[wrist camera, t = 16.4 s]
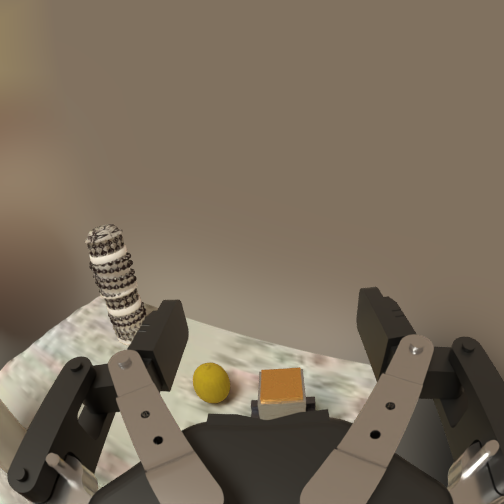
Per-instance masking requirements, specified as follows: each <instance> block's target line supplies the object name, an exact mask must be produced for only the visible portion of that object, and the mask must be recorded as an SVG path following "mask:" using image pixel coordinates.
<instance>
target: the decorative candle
mask: <svg viewBox="0 0 504 504" xmlns="http://www.w3.org/2000/svg"><path fill="white" fill-rule="evenodd" d="M121 233H122V230H121V229H118V228H117V227H116V226H115V225H113V224H109V225H103V226H100V227H97V228H95V229H93V230H91V231H90V232H89V234H88V238H87V239H86V240H85V242H86V243H87V245H88V249H89V252H90V259H91V261H90V269H91V270H92V271H93V277H94V278H95V279H96V282H95V283H96V284H97V286H98V287H99V292H100V294H101V296H102V297H103V298H104V299H105V302H106V307H107V309H108V313H109V314H108V316H109V317H110V319H111V323H112V324H113V329H114V330H115V334H116V335H117V337H118V340H119V341H120V343H122V344H125V345H130V344H131V342H132V340H133V338H134V337H135V335H136V333H137V332H138V330H139V328H140V326H142V323H143V321H144V319H145V318H146V317H147V316H148V315H146V309H145V308H144V303H143V302H142V301H141V298H140V295H139V294H138V293H137V289H136V287H137V282H136V276H134V275H133V274H134V273H135V271H134V269H131V268H130V266H131V265H132V264H133V261H132V260H128V259H129V258H130V257H131V254H130V253H127V250H126V246H125V244H124V242H123V237H122V235H121ZM93 265H94V267H93ZM96 275H97V276H96ZM98 281H99V283H98Z"/></svg>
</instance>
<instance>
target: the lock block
mask: <svg viewBox="0 0 504 504" xmlns="http://www.w3.org/2000/svg"><path fill="white" fill-rule="evenodd" d="M258 410H259V416H260V419H263V420H271V419H275V418H279V417H283V416H287V415H290V414H294V413H298V412H306V396H305V386H304V377H303V369H300V368H288V369H271V370H262V371H261V372H259V390H258Z"/></svg>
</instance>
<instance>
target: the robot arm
mask: <svg viewBox="0 0 504 504" xmlns="http://www.w3.org/2000/svg"><path fill="white" fill-rule="evenodd" d="M357 329H358V332H359V334H360V337H361V340H362V342H363V345H364V347H365V350H366V353H367V355H368V358H369V361H370V364H371V367H372V369H373V372H374V375H375V378H376V381H377V384H376V386H375V387H374V389H373V391H372V393H371V395H370V396H369V398H368V400H367V401H366V403H365V405H364V407H363V408H362V410H361V411H360V413H359V415H358V416H357V418H356V420H355V421H354V423H350V422H348V421H345V420H342V419H337V418H330V417H329V413H328V409H327V410H318V411H308V412H298V413H294V414H290V415H287V416H283V417H279V418H275V419H271V420H263V419H257V418H252V417H247V416H242V415H237V414H208V418H207V422H203V423H199V424H196V425H193V426H190V427H188V428H186V429H184V430H182V431H181V430H180V428H179V426H178V425H177V423H176V421H175V420H174V418H173V416H172V415H171V413H170V411H169V409H168V408H167V406H166V404H165V402H164V401H163V399H162V397H161V395H160V391H168V392H170V390H171V387H172V384H173V381H174V378H175V375H176V373H177V370H178V367H179V364H180V361H181V358H182V355H183V352H184V349H185V347H186V344H187V341H188V326H187V322H186V318H185V315H184V311H183V307H182V303H181V301H180V300H163V301H162V303H161V305H160V307H159V308H158V310H157V311H153V312H151V313H150V314H149V315H148V316H147V317H146V318H145V319H144V321H143V323H142V326H140V328H139V330H138V332H137V333H136V335H135V337H134V338H133V340H132V342H131V344H130V345H129V347H128V349H127V350H123V351H120V352H118V353H116V354H114V355H113V356H112V357H111V358H110V360H109V362H108V364H102V365H95V366H93V365H92V363H91V362H90V360H89V359H88V358H86V357H76V358H73V359H71V360H70V361H68V362H67V363H66V364H65V366H64V367H63V369H62V370H61V372H60V374H59V375H58V377H57V379H56V380H55V382H54V384H53V385H52V387H51V389H50V390H49V392H48V394H47V396H46V397H45V399H44V401H43V402H42V404H41V406H40V408H39V410H38V411H37V413H36V415H35V417H34V419H33V421H32V422H31V424H30V426H29V428H28V430H27V431H26V429H25V428H24V427H23V426H22V425H21V424H20V423H19V421H18V420H17V419H16V418H15V417H14V416H13V414H12V413H11V412H10V411H9V409H8V408H7V407H6V406H5V404H4V403H3V402H2V400H1V399H0V468H1V469H3V470H4V471H5V472H6V473H8V475H7V477H8V482H9V484H10V486H11V487H12V488H13V489H14V490H15V491H16V492H18V493H19V494H21V495H22V496H23V497H25V498H26V499H27V500H28V501H29V502H31V503H32V504H500V503H502V502H503V501H504V382H503V380H502V378H501V376H500V375H499V373H498V371H497V370H496V368H495V366H494V365H493V363H492V362H491V360H490V359H489V357H488V355H487V354H486V352H485V351H484V349H483V348H482V346H481V345H480V343H479V342H477V341H476V340H475V339H472V338H470V337H460V338H457V339H456V340H455V341H454V342H453V344H452V347H451V348H449V347H434V346H433V344H432V342H431V341H430V340H429V339H428V338H426V337H424V336H421V335H417V334H416V332H415V331H414V329H413V328H412V326H411V325H410V323H409V321H408V320H407V318H406V316H405V315H404V313H403V312H402V311H401V309H400V307H399V306H398V304H397V302H395V301H394V300H393V299H391V298H389V297H383V296H382V294H381V293H380V291H379V289H378V288H377V287H371V288H361V289H360V292H359V301H358V310H357ZM418 398H421V399H433V400H434V403H435V406H436V408H437V411H438V414H439V417H440V419H441V422H442V425H443V428H444V431H445V434H446V437H447V440H448V443H449V446H450V449H451V453H452V456H453V459H454V463H453V465H452V466H451V468H450V470H449V473H448V487H447V488H446V487H445V486H444V485H443V484H442V483H440V482H439V481H437V480H436V479H434V478H432V477H431V476H429V475H428V474H426V473H425V472H423V471H421V470H420V469H418V468H417V467H415V466H414V465H412V464H411V463H409V462H408V461H406V460H405V459H403V458H402V457H400V456H399V455H398V454H396V453H395V450H396V449H397V447H398V444H399V443H400V440H401V438H402V436H403V434H404V432H405V430H406V427H407V425H408V423H409V420H410V418H411V416H412V413H413V411H414V408H415V406H416V403H417V400H418ZM82 403H83V404H84V405H85V406H84V408H83V410H82V412H81V414H80V417H79V419H78V418H77V415H78V411H79V409H80V407H81V405H82ZM116 412H121V415H122V418H123V420H124V423H125V425H126V428H127V430H128V433H129V435H130V438H131V440H132V442H133V445H134V447H135V449H136V452H137V454H138V456H139V458H140V460H141V461H140V462H139V463H138V464H136V465H135V466H133V467H132V468H131V469H129V470H128V471H126V472H125V473H123V474H122V475H120V476H119V477H117V478H116V479H114V480H113V481H111V482H110V483H108V484H107V485H105V486H104V487H102V488H101V489H99V490H98V489H97V488H98V482H97V479H96V477H95V475H94V473H95V469H96V466H97V463H98V460H99V457H100V454H101V452H102V449H103V446H104V443H105V440H106V437H107V434H108V432H109V429H110V426H111V423H112V421H113V418H114V415H115V413H116Z"/></svg>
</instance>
